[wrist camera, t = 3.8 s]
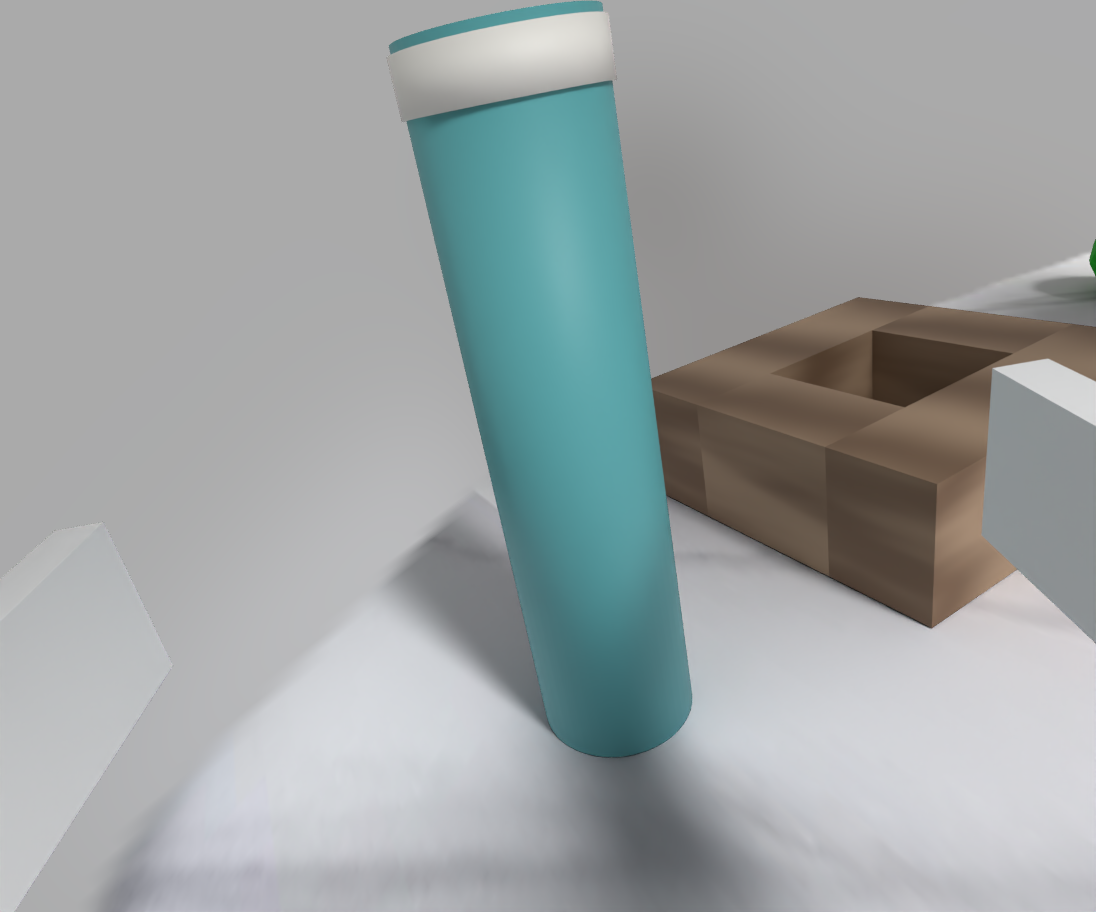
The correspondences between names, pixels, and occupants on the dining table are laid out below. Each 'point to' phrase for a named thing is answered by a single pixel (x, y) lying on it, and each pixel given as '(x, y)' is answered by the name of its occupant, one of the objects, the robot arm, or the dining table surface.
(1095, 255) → the polyhedron
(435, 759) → the dining table surface
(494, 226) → the peg
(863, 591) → the socket block
